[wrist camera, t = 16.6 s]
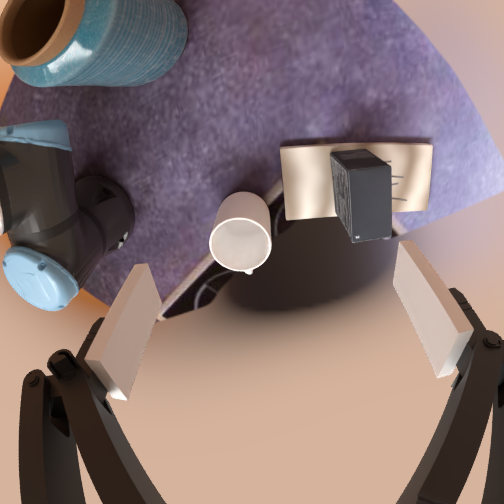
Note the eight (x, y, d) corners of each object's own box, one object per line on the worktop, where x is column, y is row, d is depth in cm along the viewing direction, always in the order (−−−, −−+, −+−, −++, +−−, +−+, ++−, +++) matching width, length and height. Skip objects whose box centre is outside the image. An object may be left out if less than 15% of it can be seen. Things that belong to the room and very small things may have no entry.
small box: (371, 208, 48) (393, 238, 39) (334, 213, 49) (350, 245, 40) (368, 147, 43) (394, 165, 34) (328, 151, 44) (346, 170, 35)
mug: (228, 255, 56) (221, 292, 47) (213, 194, 50) (202, 222, 41) (275, 249, 55) (277, 286, 46) (265, 186, 49) (266, 213, 40)
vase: (83, 74, 38) (-38, 94, 16) (117, -11, 30) (11, -53, 8) (165, 98, 41) (68, 123, 19) (207, 6, 33) (147, -66, 11)
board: (285, 216, 51) (286, 220, 50) (279, 147, 45) (280, 149, 44) (423, 206, 49) (427, 210, 48) (428, 143, 43) (432, 145, 42)
